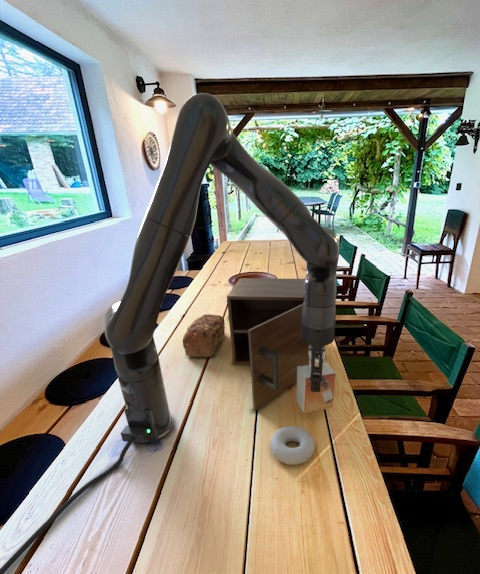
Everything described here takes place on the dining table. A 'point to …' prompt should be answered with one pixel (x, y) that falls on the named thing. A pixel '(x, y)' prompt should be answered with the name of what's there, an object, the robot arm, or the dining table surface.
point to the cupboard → (258, 308)
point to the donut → (292, 454)
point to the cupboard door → (276, 355)
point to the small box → (315, 399)
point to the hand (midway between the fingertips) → (315, 381)
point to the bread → (204, 336)
